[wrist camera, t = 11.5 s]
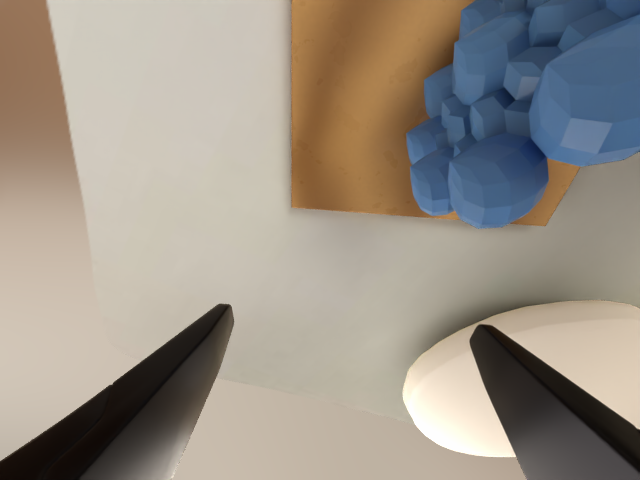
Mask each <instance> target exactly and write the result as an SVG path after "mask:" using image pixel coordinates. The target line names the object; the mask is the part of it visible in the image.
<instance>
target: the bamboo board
mask: <svg viewBox="0 0 640 480" xmlns="http://www.w3.org/2000/svg"><path fill="white" fill-rule="evenodd" d="M473 1H475V0H292V208H305V209H319V210H332V211H346V212H359V213H373V214H386V215H400V216H414V217H427V218H441V219H454V220H460V218H459V217H458V215H457V213H456V212H455V211H453V212H451V213H449V214H448V215H438V216H431V215H429V214H428V213H426V212H424V211H422V210H421V209H420V207H419V206H418V204H417V202H416V200H415V198H414V196H413V191H412V185H411V179H410V167H411V166H412V164H411V163H410V159H409V155H408V149H407V138H406V133H407V132H409V131H410V130H411V129H413V128H414V127H416V126H417V125H419V124H421V123H422V122H424V121H425V120H427V119H430V117H429V115H428V114H427V112H426V106H425V99H424V80H425V79H426V78H428V77H429V76H430V75H432V74H433V73H435V72H436V71H438V70H440V69H441V68H443V67H445V66H447V65H449V64H451V63H453V59H454V45H455V42H457V41H458V40H459V32H460V19H461V10H463V9H464V8H465V7H467V6H468V5H469V4H471V3H472V2H473ZM547 162H548V173H549V182H548V184H547V187H546V189H545V192H544V194H543V197H542V199H541V200H540V201H539V202H538V203H537V204H536V206H535V207H534V208H533V209H532V210H531V211H530V212H529V213H527V214H526V215H525V216H523V217H522V218H520V219H518V220H516V221H514V222H511V223H509V224H522V225H535V226H546V224H547V223H548V221H549V219H550V218H551V216H552V214H553V212H554V211H555V209H556V207H557V206H558V204H559V202H560V201H561V199H562V197H563V196H564V194H565V192H566V191H567V189H568V187H569V186H570V184H571V182H572V181H573V179H574V177H575V176H576V174H577V172H578V170H579V169H580V166H576V165H572V164H568V163H564V162H560V161H556V160H552V159H548V158H547Z"/></svg>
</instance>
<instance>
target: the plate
mask: <svg viewBox="0 0 640 480" xmlns="http://www.w3.org/2000/svg"><path fill="white" fill-rule="evenodd" d="M479 324H487V325H492V326H494V327H495V328H497V329H498V330H500V331H501V332H503V333H504V334H505V335H507V336H508V337H510V338H511V339H512V340H514V341H515V342H517V343H518V344H520V345H521V346H522V347H524V348H525V349H527V350H528V351H530V352H531V353H532V354H534V355H535V356H537V357H538V358H539V359H541V360H542V361H544V362H545V363H547V364H548V365H549V366H551V367H552V368H554V369H555V370H556V371H558V372H559V373H561V374H562V375H564V376H565V377H566V378H568V379H569V380H571V381H572V382H573V383H575V384H576V385H578V386H579V387H581V388H582V389H583V390H585V391H586V392H588V393H589V394H590V395H592V396H593V397H595V398H596V399H598V400H599V401H600V402H602V403H603V404H605V405H606V406H608V407H609V408H610V409H612V410H613V411H615V412H616V413H617V414H619V415H620V416H622V417H623V418H625V419H626V420H627V421H629V422H630V423H632V424H633V425H634V426H635V427H636V428H638V429H640V308H638V307H635V306H633V305H630V304H627V303H619V302H612V301H605V300H584V301H563V302H556V303H548V304H541V305H533V306H526V307H522V308H518V309H515V310H511V311H508V312H504V313H500V314H497V315H494V316H491V317H489V318H487V319H484V320H482V321H480V322H477V323H475V324H473V325H470V326H468V327H466V328H463V329H461V330H459V331H457V332H455V333H454V334H452V335H450V336H448V337H447V338H445V339H443V340H441V341H440V342H438V343H437V344H435V345H434V346H433V347H431V348H430V349H428V350H427V351H426V352H424V353H423V354H422V355H420V356H419V357H418V359H417V360H416V361H415V362H414V364H413V365H412V366H411V368H410V369H409V370H408V373H407V377H406V380H405V384H404V388H403V400H404V403H405V405H406V407H407V409H408V411H409V413H410V415H411V417H412V419H413V420H414V422H415V424H416V426H417V427H418V428H419V429H420V430H421V431H422V432H423V433H424V434H425V435H426V436H427V437H428V438H430V439H431V440H433V441H434V442H436V443H437V444H439V445H441V446H443V447H446V448H448V449H451V450H453V451H457V452H462V453H466V454H471V455H478V456H491V457H516V455H515V453H514V451H513V449H512V446H511V444H510V442H509V440H508V438H507V435H506V433H505V431H504V429H503V427H502V425H501V422H500V420H499V418H498V416H497V414H496V411H495V409H494V407H493V405H492V403H491V401H490V398H489V396H488V394H487V391H486V389H485V386H484V384H483V381H482V378H481V375H480V373H479V370H478V367H477V364H476V361H475V358H474V356H473V353H472V350H471V347H470V343H469V341H470V337H471V336H472V334H473V332H474V330H475V328H476V327H477V325H479Z"/></svg>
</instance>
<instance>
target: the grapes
mask: <svg viewBox="0 0 640 480" xmlns="http://www.w3.org/2000/svg"><path fill="white" fill-rule="evenodd" d="M424 99H425V106H426V112H427V114H428V115H429V117H430V119H427V120H425V121H424V122H422V123H421V124H419V125H417V126H416V127H414V128H413V129H411V130H410V131H409V132H407V133H406V138H407V149H408V155H409V159H410V163H411V164H412V166H411V167H410V179H411V185H412V191H413V196H414V198H415V200H416V202H417V204H418V206H419V207H420V209H421V210H422V211H424V212H426V213H428V214H429V215H431V216H438V215H448V214H449V213H451V212H453V211H455V212H456V213H457V215H458V217H459V218H460V220H462V221H464V222H466V223H468V224H470V225H472V226H474V227H476V228H478V229H481V228H499V227H503V226H505V225H507V224H509V223H511V222H514V221H516V220H518V219H520V218H522V217H523V216H525V215H526V214H527V213H529V212H530V211H531V210H532V209H533V208H534V207H535V206H536V204H537V203H538V202H539V201H540V200H541V199H542V197H543V194H544V192H545V189H546V187H547V184H548V182H549V173H548V162H547V158H548V159H552V160H556V161H560V162H564V163H568V164H572V165H576V166H580V167H582V166H589V165H595V164H601V163H607V162H613V161H620V160H624V159H626V158H628V157H630V156H632V155H634V154H636V153H638V152H640V0H475V1H473V2H472V3H471V4H469V5H468V6H467V7H465V8H464V9H463V10H461V19H460V32H459V40H458V41H457V42H455V45H454V59H453V63H451V64H449V65H447V66H445V67H443V68H441V69H440V70H438V71H436V72H435V73H433V74H432V75H430V76H429V77H428V78H426V79H425V80H424Z"/></svg>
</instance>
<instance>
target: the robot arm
mask: <svg viewBox="0 0 640 480" xmlns="http://www.w3.org/2000/svg"><path fill="white" fill-rule="evenodd" d="M233 325H234V317H233V312H232V307H231V305H229V304H218V305H217V306H215V307H214V308H213V309H211V310H210V311H209V312H207V313H206V314H205V315H203V316H202V317H201V318H199V319H198V320H196V321H195V322H194V323H192V324H191V325H190V326H188V327H187V328H186V329H184V330H183V331H182V332H180V333H179V334H178V335H176V336H175V337H174V338H172V339H171V340H170V341H168V342H167V343H166V344H164V345H163V346H162V347H160V348H159V349H158V350H156V351H155V352H154V353H152V354H151V355H150V356H148V357H147V358H145V359H144V360H143V361H141V362H140V363H139V364H138V365H136V366H135V367H133V368H132V369H131V370H129V371H128V372H127V373H125V374H124V375H123V376H121V377H120V378H119V379H117V380H116V381H115V382H114V383H113V384H112V385H109V386H108V387H106V388H105V389H104V390H102V391H101V392H100V393H98V394H97V395H96V396H95V397H93V398H92V399H90V400H89V401H88V402H86V403H85V404H83V405H82V406H81V407H79V408H78V409H76V410H75V411H74V412H72V413H71V414H69V415H68V416H67V417H65V418H64V419H62V420H61V421H59V422H58V423H57V424H55V425H53V426H52V427H50V428H49V429H48V430H47V431H45V432H43V433H42V434H40V435H39V436H37V437H36V438H35V439H33V440H31V441H30V442H28V443H27V444H25V445H24V446H22V447H21V448H19V449H18V450H16V451H15V452H13V453H12V454H10V455H9V456H7V457H6V458H4V459H3V460H1V461H0V480H172V478H173V476H174V473H175V471H176V469H177V466H178V464H179V462H180V459H181V457H182V455H183V453H184V450H185V448H186V445H187V443H188V441H189V439H190V436H191V434H192V432H193V429H194V427H195V425H196V422H197V420H198V418H199V416H200V413H201V411H202V409H203V406H204V404H205V402H206V399H207V397H208V395H209V393H210V390H211V388H212V386H213V383H214V381H215V379H216V376H217V374H218V372H219V369H220V366H221V363H222V360H223V357H224V354H225V351H226V348H227V345H228V341H229V338H230V335H231V332H232V329H233ZM469 343H470V347H471V350H472V353H473V356H474V358H475V361H476V364H477V367H478V370H479V373H480V375H481V378H482V381H483V384H484V386H485V389H486V391H487V394H488V396H489V398H490V401H491V403H492V405H493V407H494V409H495V411H496V414H497V416H498V418H499V420H500V422H501V425H502V427H503V429H504V431H505V433H506V435H507V438H508V440H509V442H510V444H511V446H512V449H513V451H514V453H515V455H516V457H517V460H518V462H519V464H520V466H521V468H522V470H523V473H524V475H525V477H526V479H527V480H640V429H638V428H636V427H635V426H634V425H633V424H632V423H630V422H629V421H627V420H626V419H625V418H623V417H622V416H620V415H619V414H617V413H616V412H615V411H613V410H612V409H610V408H609V407H608V406H606V405H605V404H603V403H602V402H600V401H599V400H598V399H596V398H595V397H593V396H592V395H590V394H589V393H588V392H586V391H585V390H583V389H582V388H581V387H579V386H578V385H576V384H575V383H573V382H572V381H571V380H569V379H568V378H566V377H565V376H564V375H562V374H561V373H559V372H558V371H556V370H555V369H554V368H552V367H551V366H549V365H548V364H547V363H545V362H544V361H542V360H541V359H539V358H538V357H537V356H535V355H534V354H532V353H531V352H530V351H528V350H527V349H525V348H524V347H522V346H521V345H520V344H518V343H517V342H515V341H514V340H512V339H511V338H510V337H508V336H507V335H505V334H504V333H503V332H501V331H500V330H498V329H497V328H495V327H494V326H492V325H487V324H479V325H477V327H476V328H475V330H474V332H473V334H472V336H471V337H470V341H469Z"/></svg>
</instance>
